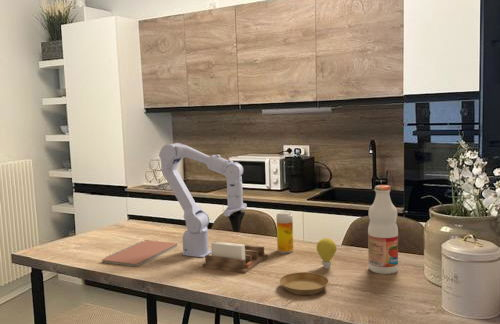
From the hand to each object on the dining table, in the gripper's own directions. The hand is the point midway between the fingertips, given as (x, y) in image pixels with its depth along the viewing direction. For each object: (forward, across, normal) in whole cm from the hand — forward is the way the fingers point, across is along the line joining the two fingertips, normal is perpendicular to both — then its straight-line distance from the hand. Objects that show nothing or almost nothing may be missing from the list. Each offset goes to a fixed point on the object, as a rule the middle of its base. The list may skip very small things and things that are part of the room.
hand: (236, 231), depth 171 cm
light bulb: (+10, -1, -35) cm, 36 cm away
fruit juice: (+10, +3, -53) cm, 54 cm away
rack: (+9, -7, -3) cm, 12 cm away
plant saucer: (+10, -21, -34) cm, 41 cm away
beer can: (+10, +11, -15) cm, 21 cm away
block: (+8, -12, -3) cm, 15 cm away
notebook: (+10, -11, +37) cm, 40 cm away
